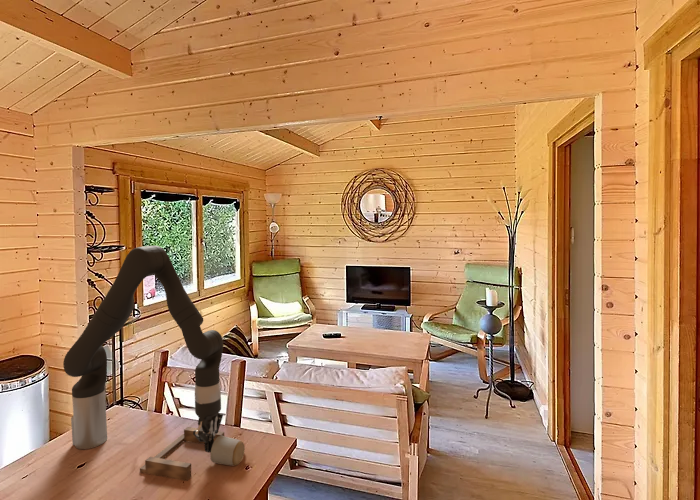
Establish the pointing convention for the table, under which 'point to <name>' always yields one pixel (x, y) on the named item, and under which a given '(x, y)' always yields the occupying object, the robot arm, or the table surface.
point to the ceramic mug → (227, 451)
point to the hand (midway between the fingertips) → (209, 450)
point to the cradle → (171, 467)
